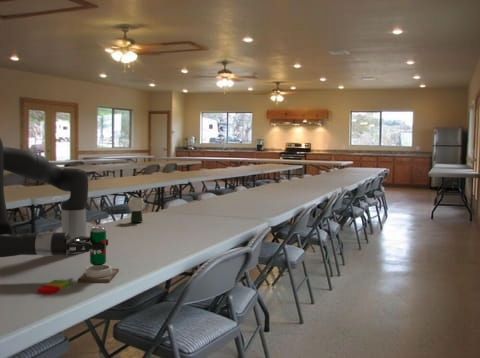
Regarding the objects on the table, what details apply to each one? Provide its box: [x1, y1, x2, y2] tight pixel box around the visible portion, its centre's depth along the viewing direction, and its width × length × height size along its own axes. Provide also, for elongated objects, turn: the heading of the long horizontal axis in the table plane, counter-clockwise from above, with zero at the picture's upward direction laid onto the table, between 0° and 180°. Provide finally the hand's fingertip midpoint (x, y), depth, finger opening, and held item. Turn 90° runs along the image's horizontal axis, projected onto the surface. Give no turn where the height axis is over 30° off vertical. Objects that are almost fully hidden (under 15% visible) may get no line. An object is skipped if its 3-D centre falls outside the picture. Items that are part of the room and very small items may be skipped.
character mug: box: [127, 197, 146, 223], centre depth 250 cm, size 11×7×13 cm, turn 66°
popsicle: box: [37, 277, 74, 295], centre depth 144 cm, size 6×15×2 cm, turn 168°
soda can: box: [89, 226, 107, 265], centre depth 153 cm, size 5×5×12 cm
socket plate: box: [77, 263, 119, 283], centre depth 154 cm, size 12×10×3 cm
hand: (106, 244), depth 154 cm, fingers closed on soda can, 5 cm apart
